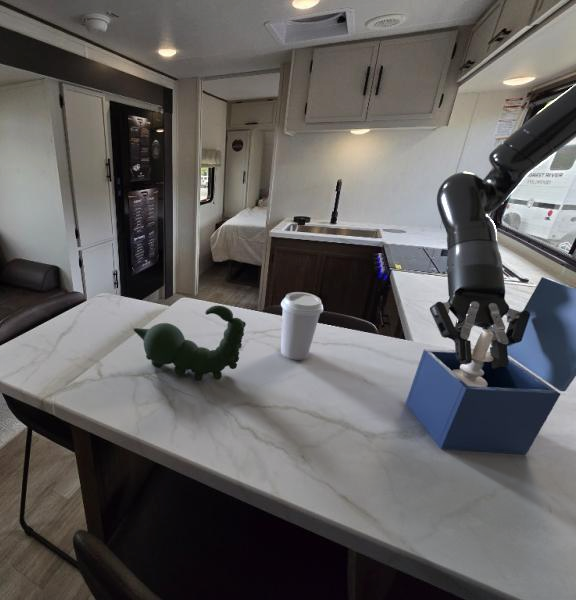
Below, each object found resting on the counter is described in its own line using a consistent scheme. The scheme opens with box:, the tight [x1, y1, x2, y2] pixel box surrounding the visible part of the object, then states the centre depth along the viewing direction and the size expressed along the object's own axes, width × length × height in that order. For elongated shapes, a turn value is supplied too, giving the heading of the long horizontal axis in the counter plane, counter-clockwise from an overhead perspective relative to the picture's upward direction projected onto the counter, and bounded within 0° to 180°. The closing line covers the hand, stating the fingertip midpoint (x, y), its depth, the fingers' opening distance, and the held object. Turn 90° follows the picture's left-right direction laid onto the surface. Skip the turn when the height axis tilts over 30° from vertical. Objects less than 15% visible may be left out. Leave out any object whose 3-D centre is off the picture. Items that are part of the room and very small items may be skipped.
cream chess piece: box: [452, 329, 494, 387], centre depth 57 cm, size 5×5×10 cm
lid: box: [507, 276, 576, 392], centre depth 54 cm, size 14×12×1 cm
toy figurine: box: [133, 305, 247, 382], centre depth 76 cm, size 9×19×25 cm
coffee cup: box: [280, 291, 324, 361], centre depth 83 cm, size 10×10×15 cm
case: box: [405, 349, 561, 455], centre depth 60 cm, size 14×12×13 cm
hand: (482, 365), depth 56 cm, fingers closed on cream chess piece, 4 cm apart
